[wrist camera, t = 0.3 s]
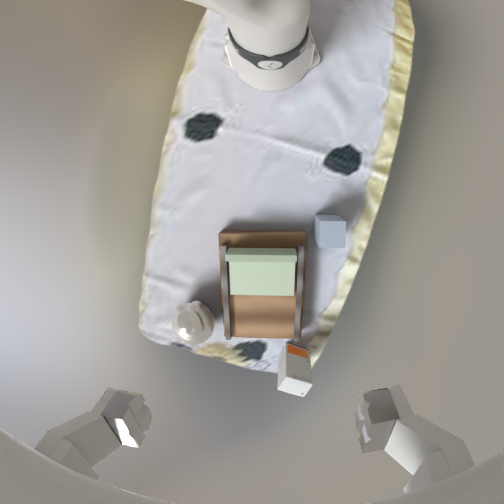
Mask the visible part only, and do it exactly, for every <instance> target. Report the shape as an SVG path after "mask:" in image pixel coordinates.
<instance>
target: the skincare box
mask: <svg viewBox="0 0 504 504" xmlns="http://www.w3.org/2000/svg"><path fill="white" fill-rule="evenodd" d="M312 385H313V380H312V370H311V362H310V354H309V350H306V349H303V348H300V347H297V346H294V345H291V344H289V343H285V345H284V347H283V349H282V350H281V352H280V354H279V359H278V388H277V389H278V390H281V391H284V392H287V393H290V394H294V395H298V396H302V397H304V396H305V394H307V392H308V391H309V389H310V388H311V387H312Z"/></svg>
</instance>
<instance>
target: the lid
mask: <svg viewBox="0 0 504 504" xmlns="http://www.w3.org/2000/svg"><path fill="white" fill-rule="evenodd" d="M225 261H228V262H229V271H230V293H231V295H268V296H294V282H295V262H297V253H296V249H294V248H229V249H228V251H227V252H226V254H225Z"/></svg>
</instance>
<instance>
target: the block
mask: <svg viewBox="0 0 504 504" xmlns="http://www.w3.org/2000/svg"><path fill="white" fill-rule="evenodd" d="M345 235H346V221H345V220H344V219H342V218H341V217H340V216H338V215H321V214H315V219H314V239H315V241H316V243H317V245H318V246H319V247H332V248H345Z"/></svg>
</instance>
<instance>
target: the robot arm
mask: <svg viewBox="0 0 504 504" xmlns="http://www.w3.org/2000/svg"><path fill="white" fill-rule="evenodd" d="M185 1H189V2H192V3H196V4H199V5H202V6H204V7H206V8H208V9H210V10H212V11H214V12H216V13H218V14H219V15H221V16H222V17H223V18H224V19H225V21H226V27H227V28H228V34H226V35H225V40H226V43H225V47H224V51H223V55H222V59H221V61H222V64H223V65H224V66H225V67H227V68H229V69H231V70H233V71H235V72H236V73H237V75H238V76H239V77H240V78H241V79H242V80H243V81H244V82H245V83H247V84H248V85H250V86H252V87H254V88H256V89H260V90H265V91H278V90H283V89H287V88H289V87H291V86H293V85H295V84H296V83H298V82H299V81H300V80H301V79H302V78H303V77H304V75H305V74H306V73H307V71H308V70H310V69H312V68H314V67H315V66H317V65H318V64H319V63H320V55H319V52H318V49H317V46H316V43H315V40H314V37H313V34H312V32H311V29H310V26H309V23H308V20H309V15H310V9H311V5H310V0H185ZM313 55H314V56H313ZM358 401H359V406H358V407H357V408H356V414H355V415H356V416H355V420H356V427H357V431H359V432H360V433H361V435H360V439H359V440H360V445H361V449H362V453H365V452H371V451H376V450H382V449H385V451H386V452H387V453H388V454H389V455H391V456H392V457H393V458H394V459H395V460H396V461H397V462H399V463H400V464H401V465H402V466H403V467H404V468H405V469H406V470H408V471H409V472H410V473H411V474H412V475H413V477H412V478H411V479H410V481H409V482H408V483H407V485H406V486H405V487H404V492H405V493H404V494H401V495H397V496H394V497H390V498H386V499H383V500H378V501H374V502H370V503H364V504H504V449H503V450H502V451H500V452H499V453H497V454H495V455H493V456H492V457H490V458H488V459H486V460H484V461H482V462H480V463H479V464H477V465H475V464H474V462H473V460H472V457H471V455H470V453H469V451H468V449H467V447H466V445H465V443H464V441H463V440H462V439H460V438H458V437H457V436H455V435H453V434H451V433H449V432H447V431H446V430H444V429H442V428H440V427H439V426H437V425H435V424H433V423H432V422H430V421H428V420H426V419H425V418H423V417H421V416H420V415H418V414H417V415H414V413H413V411H412V409H411V407H410V405H409V403H408V401H407V398H406V396H405V394H404V392H403V390H402V388H401V386H399V385H397V386H392V387H388V388H383V389H377V390H372V391H366V392H361V393H360V394H359V398H358ZM144 402H145V399H144V397H143V395H142V394H139V393H133V392H128V391H123V390H117V389H112V388H109V389H107V390H106V391H105V392H104V394H103V395H102V397H101V398H100V400H99V401H98V402H97V404H96V405H95V407H94V408H93V410H92V411H91V412H86V413H84V414H82V415H80V416H78V417H76V418H74V419H72V420H70V421H68V422H66V423H64V424H62V425H60V426H57V427H55V428H53V429H51V430H49V431H47V433H46V434H45V435H44V437H43V438H42V439H41V441H40V442H39V443H38V445H37V446H36V448H35V449H33V448H31V447H29V446H28V445H26V444H24V443H23V442H21V441H20V440H18V439H17V438H15V437H14V436H12V435H10V434H9V433H8V432H6V431H5V430H3V429H2V428H1V427H0V504H177V503H171V502H167V501H163V500H158V499H155V498H151V497H147V496H143V495H139V494H136V493H133V492H130V491H126V490H123V489H120V488H117V487H115V486H112V485H109V484H106V483H104V482H101V481H98V478H99V474H98V473H97V472H96V471H95V470H94V469H93V468H92V467H93V466H94V465H95V464H97V463H98V462H100V461H101V460H102V459H104V458H105V457H106V456H108V455H109V454H111V453H112V452H113V451H114V450H116V449H117V448H119V447H120V446H121V445H122V444H124V445H128V446H133V447H138V448H139V447H140V446H141V444H142V441H143V439H144V437H145V435H144V431H145V430H147V429H149V426H150V424H151V412H150V409H149V408H148V407H147V406H146V405H145V404H144Z"/></svg>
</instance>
